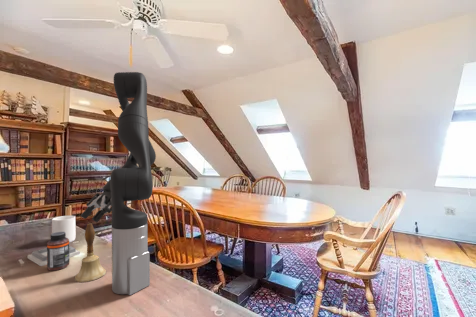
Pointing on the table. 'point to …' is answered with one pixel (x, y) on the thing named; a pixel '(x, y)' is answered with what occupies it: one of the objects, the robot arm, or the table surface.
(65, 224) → the mug
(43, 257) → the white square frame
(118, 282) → the robot arm
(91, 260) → the hand bell
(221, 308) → the table surface
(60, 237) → the supplement bottle
